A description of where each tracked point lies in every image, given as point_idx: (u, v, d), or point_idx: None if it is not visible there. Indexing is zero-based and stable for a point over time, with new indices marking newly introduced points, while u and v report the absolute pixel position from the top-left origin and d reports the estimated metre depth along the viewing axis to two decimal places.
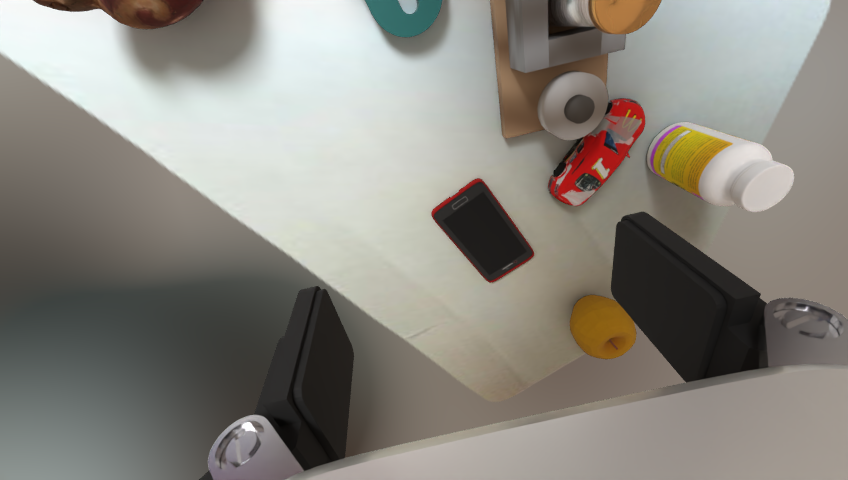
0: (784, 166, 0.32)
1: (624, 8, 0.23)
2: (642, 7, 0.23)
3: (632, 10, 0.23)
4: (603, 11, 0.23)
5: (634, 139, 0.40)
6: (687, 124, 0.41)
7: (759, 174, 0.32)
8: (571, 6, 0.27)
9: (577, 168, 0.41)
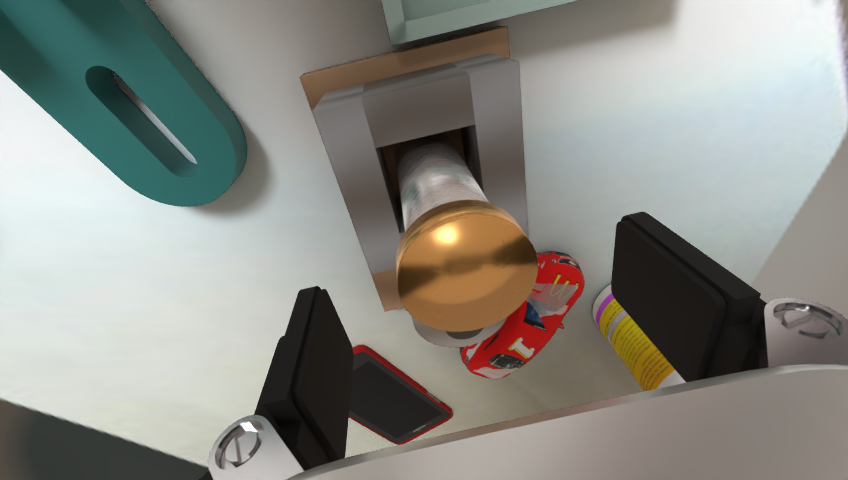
0: None
1: (460, 299, 0.11)
2: (497, 295, 0.12)
3: (478, 300, 0.12)
4: (417, 306, 0.11)
5: (569, 306, 0.28)
6: None
7: None
8: None
9: (490, 344, 0.29)
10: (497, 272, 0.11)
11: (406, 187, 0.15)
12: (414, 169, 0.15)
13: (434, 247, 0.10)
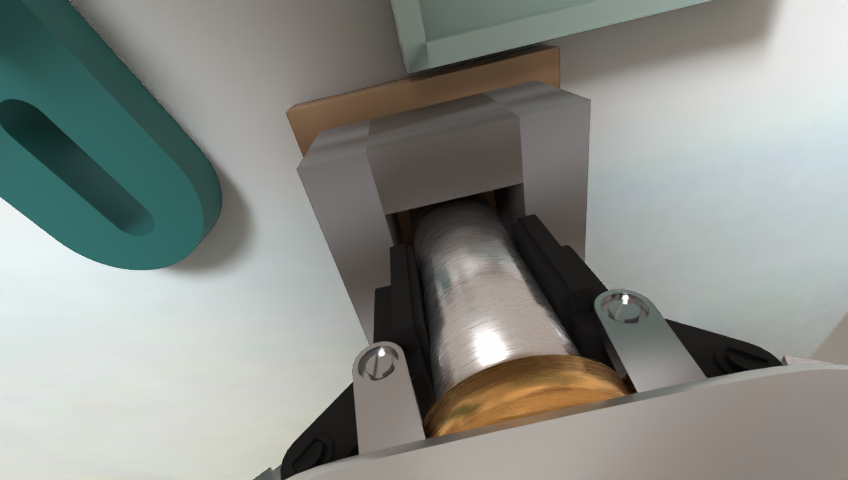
0: None
1: None
2: None
3: None
4: None
5: None
6: None
7: None
8: None
9: None
10: None
11: (429, 278, 0.11)
12: (440, 249, 0.11)
13: None
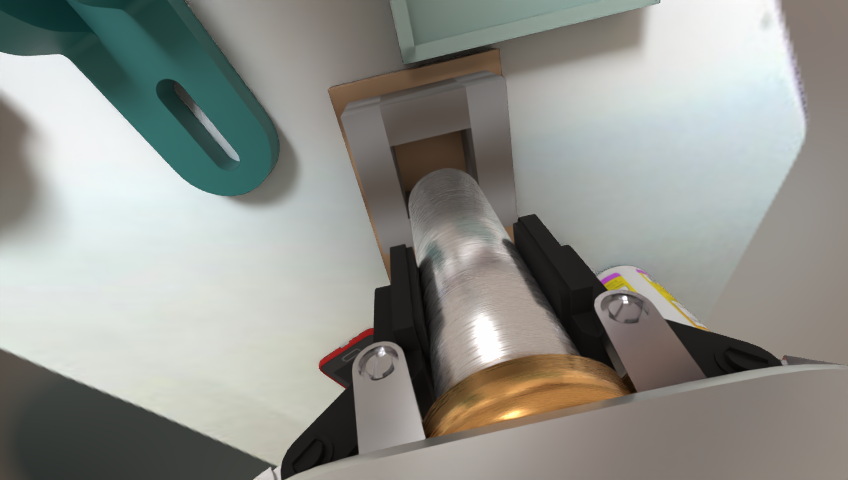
0: None
1: None
2: None
3: None
4: None
5: None
6: (627, 273, 0.32)
7: None
8: None
9: None
10: None
11: (429, 278, 0.11)
12: (439, 249, 0.11)
13: None
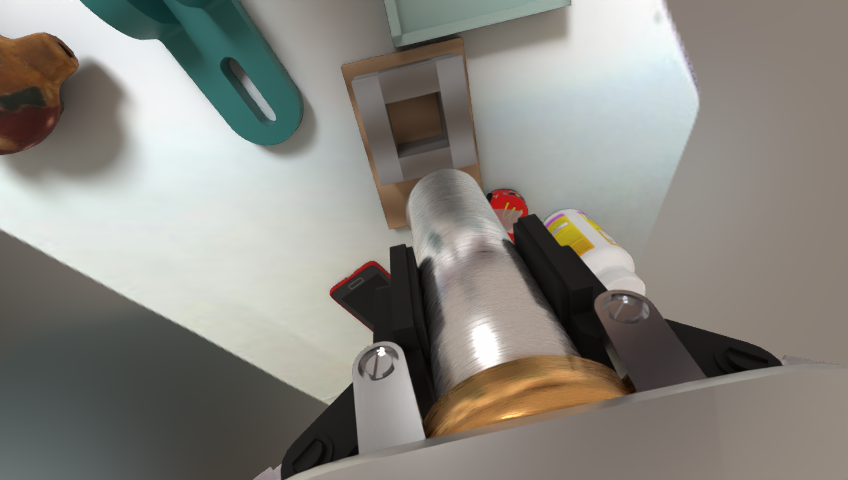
0: (632, 278, 0.33)
1: None
2: None
3: None
4: None
5: None
6: (569, 213, 0.41)
7: (608, 285, 0.33)
8: None
9: None
10: None
11: (429, 278, 0.11)
12: (440, 249, 0.11)
13: None
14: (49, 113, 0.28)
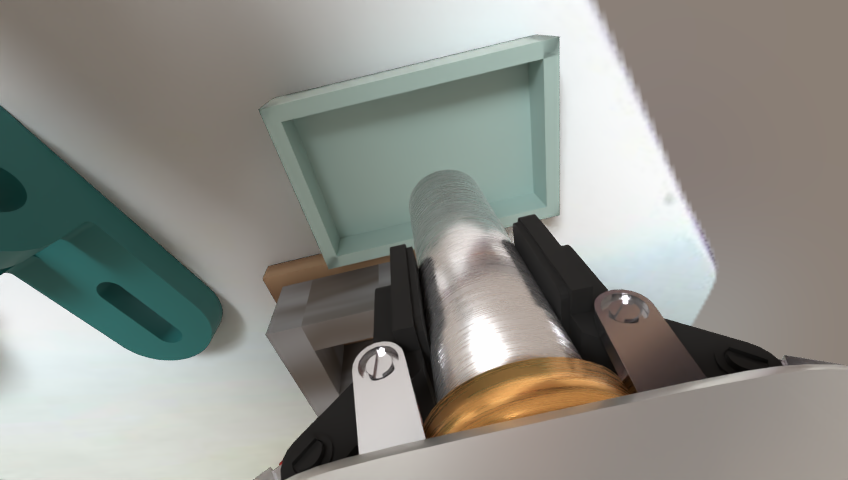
0: None
1: None
2: None
3: None
4: None
5: None
6: None
7: None
8: None
9: None
10: None
11: (429, 280, 0.11)
12: (440, 250, 0.11)
13: None
14: None
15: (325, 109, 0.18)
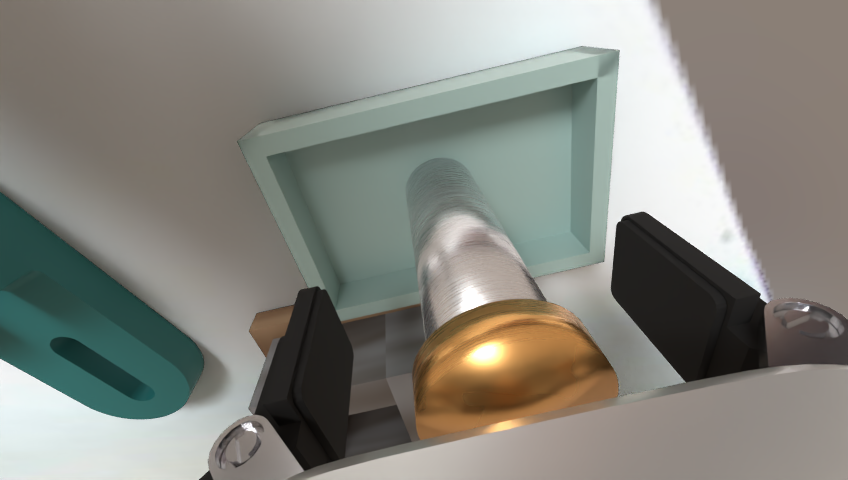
0: None
1: None
2: None
3: None
4: None
5: None
6: None
7: None
8: None
9: None
10: (559, 403, 0.08)
11: (422, 250, 0.12)
12: (432, 225, 0.12)
13: (472, 378, 0.07)
14: None
15: (321, 141, 0.14)
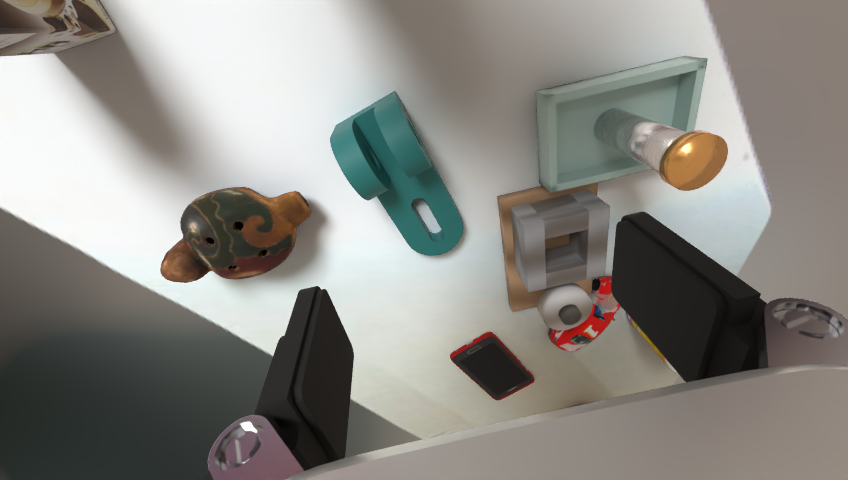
0: None
1: (691, 173, 0.28)
2: (707, 171, 0.28)
3: (698, 174, 0.28)
4: (674, 175, 0.28)
5: (618, 307, 0.50)
6: None
7: None
8: (637, 151, 0.31)
9: (572, 329, 0.50)
10: (710, 160, 0.27)
11: (638, 134, 0.31)
12: (639, 126, 0.32)
13: (691, 147, 0.26)
14: (291, 249, 0.37)
15: (580, 96, 0.34)
